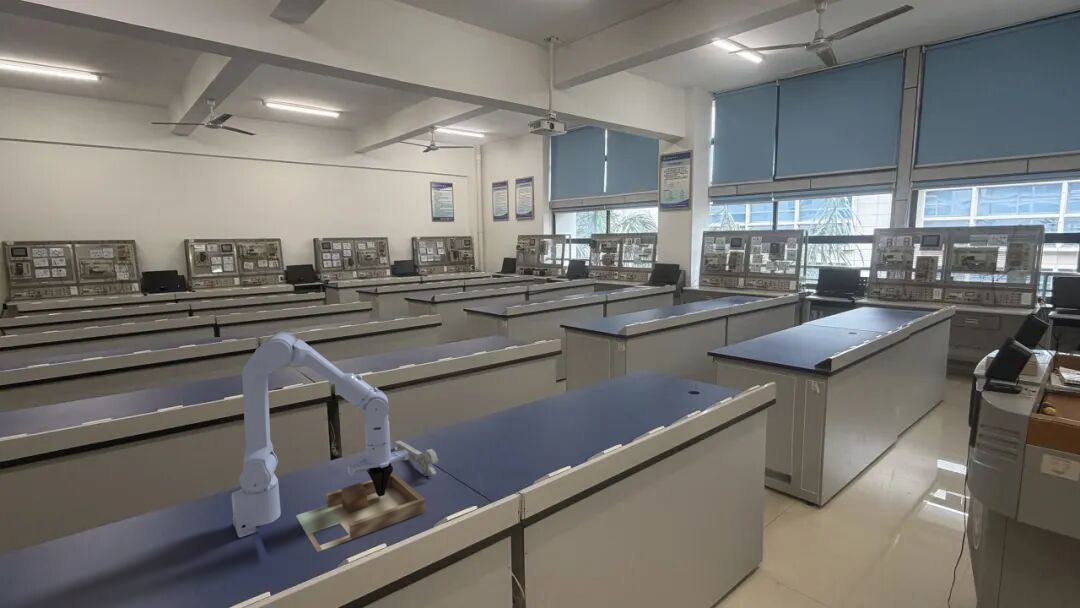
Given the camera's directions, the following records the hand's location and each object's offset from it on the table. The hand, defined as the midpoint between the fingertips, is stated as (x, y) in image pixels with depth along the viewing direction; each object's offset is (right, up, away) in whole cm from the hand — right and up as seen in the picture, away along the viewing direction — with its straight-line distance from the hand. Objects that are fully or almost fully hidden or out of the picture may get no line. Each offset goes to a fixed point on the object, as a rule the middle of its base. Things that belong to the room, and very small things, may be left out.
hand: (380, 494), depth 123 cm
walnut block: (-5, -2, -4) cm, 6 cm away
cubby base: (-2, -3, -7) cm, 8 cm away
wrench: (+3, 0, +22) cm, 22 cm away
